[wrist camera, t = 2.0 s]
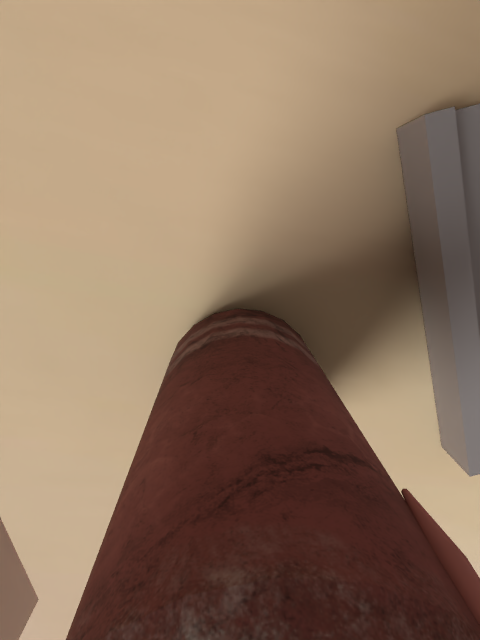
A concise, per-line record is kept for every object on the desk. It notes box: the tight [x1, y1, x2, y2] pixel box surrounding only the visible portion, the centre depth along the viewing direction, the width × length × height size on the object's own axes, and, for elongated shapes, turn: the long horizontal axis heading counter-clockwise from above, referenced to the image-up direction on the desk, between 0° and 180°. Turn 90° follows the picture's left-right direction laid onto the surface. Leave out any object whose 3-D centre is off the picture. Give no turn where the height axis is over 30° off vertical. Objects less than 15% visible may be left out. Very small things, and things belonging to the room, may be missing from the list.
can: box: [66, 309, 480, 640], centre depth 11 cm, size 6×6×14 cm
